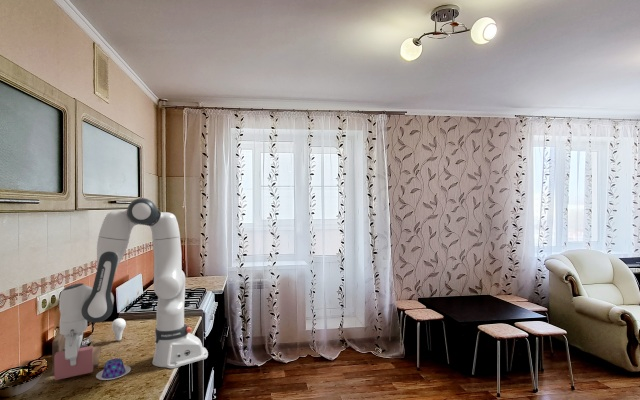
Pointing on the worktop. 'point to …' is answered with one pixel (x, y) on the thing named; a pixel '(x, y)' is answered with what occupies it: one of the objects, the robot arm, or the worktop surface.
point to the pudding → (113, 369)
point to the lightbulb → (118, 328)
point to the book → (66, 370)
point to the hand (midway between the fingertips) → (74, 361)
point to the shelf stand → (59, 346)
